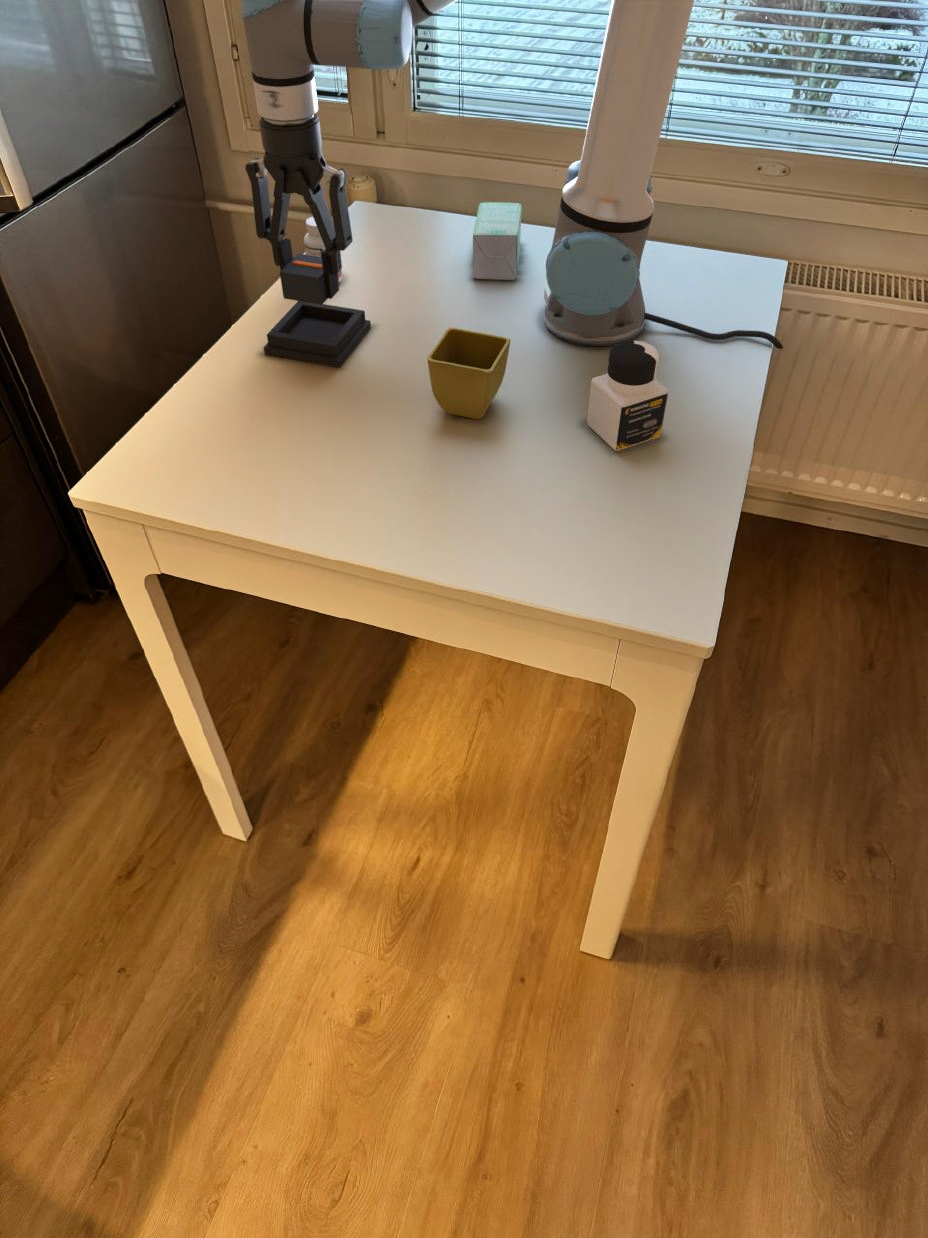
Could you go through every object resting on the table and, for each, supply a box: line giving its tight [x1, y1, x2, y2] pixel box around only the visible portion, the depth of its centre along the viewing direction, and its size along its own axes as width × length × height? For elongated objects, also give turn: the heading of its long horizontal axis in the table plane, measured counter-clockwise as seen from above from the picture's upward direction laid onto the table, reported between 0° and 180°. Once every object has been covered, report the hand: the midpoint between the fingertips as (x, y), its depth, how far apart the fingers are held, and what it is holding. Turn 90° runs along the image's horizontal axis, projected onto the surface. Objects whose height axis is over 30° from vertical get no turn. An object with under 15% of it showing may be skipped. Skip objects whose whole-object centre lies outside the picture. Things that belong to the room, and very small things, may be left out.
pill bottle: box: [303, 216, 343, 283], centre depth 146 cm, size 5×5×10 cm
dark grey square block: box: [279, 253, 340, 305], centre depth 130 cm, size 6×6×4 cm
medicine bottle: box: [586, 340, 669, 452], centre depth 116 cm, size 7×7×12 cm
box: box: [472, 201, 523, 281], centre depth 151 cm, size 7×14×8 cm, turn 175°
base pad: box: [263, 301, 372, 368], centre depth 136 cm, size 12×12×3 cm
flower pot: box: [426, 327, 511, 420], centre depth 121 cm, size 9×9×9 cm
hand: (311, 290), depth 131 cm, fingers closed on dark grey square block, 6 cm apart
